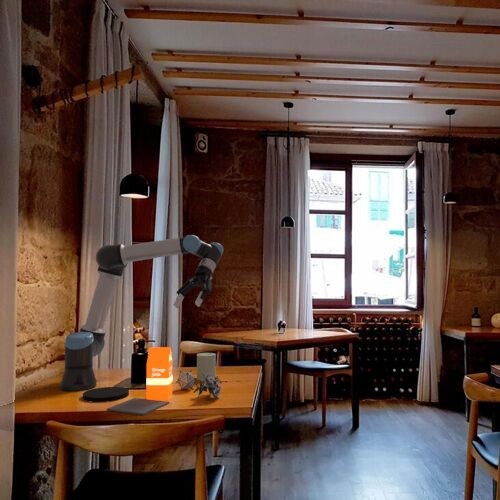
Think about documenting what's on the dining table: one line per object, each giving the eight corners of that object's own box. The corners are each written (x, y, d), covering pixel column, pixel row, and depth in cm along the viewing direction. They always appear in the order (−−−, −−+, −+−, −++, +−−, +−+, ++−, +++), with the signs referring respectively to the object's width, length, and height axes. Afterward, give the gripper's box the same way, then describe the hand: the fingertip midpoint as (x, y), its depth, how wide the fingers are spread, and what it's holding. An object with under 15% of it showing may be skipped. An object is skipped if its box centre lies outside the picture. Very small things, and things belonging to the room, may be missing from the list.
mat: (107, 410, 161) (107, 408, 161) (134, 399, 175) (134, 397, 175) (144, 415, 154) (144, 413, 154) (169, 403, 169) (169, 401, 169)
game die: (188, 399, 189) (191, 383, 184) (171, 391, 191) (173, 375, 185) (198, 385, 196) (201, 369, 191) (181, 377, 198) (183, 361, 193)
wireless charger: (72, 400, 176) (72, 395, 176) (104, 390, 192) (104, 385, 192) (108, 405, 169) (108, 399, 169) (137, 394, 185) (137, 389, 185)
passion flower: (216, 412, 175) (221, 391, 169) (189, 408, 175) (193, 387, 169) (219, 390, 185) (224, 370, 179) (194, 386, 184) (197, 365, 178)
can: (219, 378, 213) (219, 352, 214) (208, 381, 205) (208, 355, 206) (204, 376, 218) (204, 351, 219) (192, 379, 210) (192, 353, 211)
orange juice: (168, 400, 173) (168, 348, 175) (145, 400, 173) (146, 348, 175) (172, 395, 181) (172, 345, 182) (150, 395, 181) (151, 345, 183)
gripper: (229, 272, 205) (211, 309, 192) (191, 277, 220) (172, 312, 207) (220, 261, 201) (201, 298, 188) (182, 267, 216) (162, 302, 203)
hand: (186, 305), depth 198 cm, fingers open, 13 cm apart
